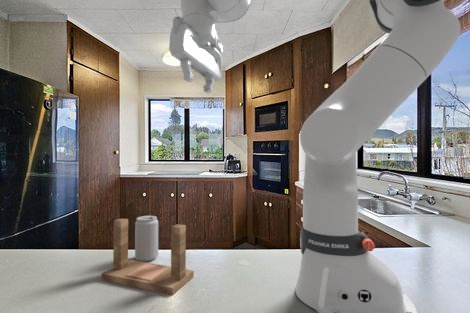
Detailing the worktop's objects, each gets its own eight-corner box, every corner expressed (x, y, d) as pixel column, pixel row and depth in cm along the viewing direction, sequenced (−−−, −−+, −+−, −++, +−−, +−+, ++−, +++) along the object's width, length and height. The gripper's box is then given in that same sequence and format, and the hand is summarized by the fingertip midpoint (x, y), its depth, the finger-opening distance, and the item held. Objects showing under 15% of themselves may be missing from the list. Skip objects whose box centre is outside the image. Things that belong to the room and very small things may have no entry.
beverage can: (151, 263, 70) (151, 220, 71) (130, 261, 72) (130, 219, 72) (162, 255, 77) (162, 215, 77) (142, 253, 78) (143, 214, 78)
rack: (193, 276, 63) (193, 222, 63) (172, 295, 54) (173, 231, 54) (128, 265, 70) (129, 215, 70) (101, 279, 61) (101, 223, 61)
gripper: (185, 8, 56) (186, 69, 55) (225, 49, 74) (226, 95, 73) (162, 15, 58) (162, 74, 57) (206, 53, 77) (207, 98, 76)
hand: (198, 86), depth 65 cm, fingers open, 8 cm apart
